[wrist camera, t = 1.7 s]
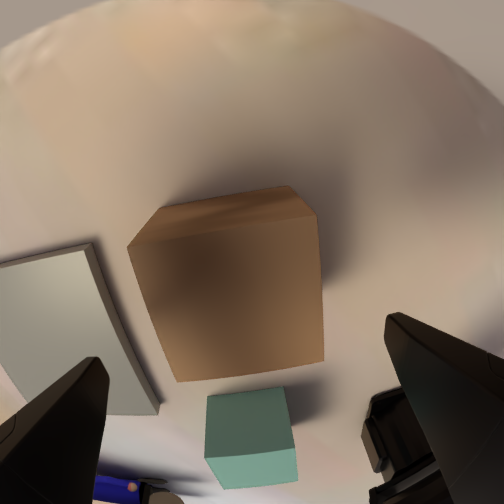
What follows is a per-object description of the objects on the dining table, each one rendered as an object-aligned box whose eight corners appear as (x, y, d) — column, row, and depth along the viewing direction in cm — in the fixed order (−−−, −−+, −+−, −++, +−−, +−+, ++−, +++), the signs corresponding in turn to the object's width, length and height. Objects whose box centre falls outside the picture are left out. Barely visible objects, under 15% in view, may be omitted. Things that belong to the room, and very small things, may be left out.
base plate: (91, 242, 14) (83, 250, 13) (160, 404, 19) (158, 415, 18) (-35, 272, 14) (-43, 279, 13) (35, 399, 19) (31, 407, 18)
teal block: (283, 385, 19) (295, 448, 14) (288, 426, 21) (298, 480, 16) (207, 395, 19) (204, 458, 14) (223, 434, 21) (223, 489, 16)
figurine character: (182, 463, 25) (43, 444, 21) (188, 528, 18) (30, 502, 15) (184, 487, 27) (62, 472, 24) (190, 542, 20) (55, 522, 17)
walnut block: (288, 185, 14) (316, 214, 9) (300, 297, 16) (324, 360, 12) (159, 207, 14) (126, 247, 9) (188, 315, 16) (177, 382, 12)
